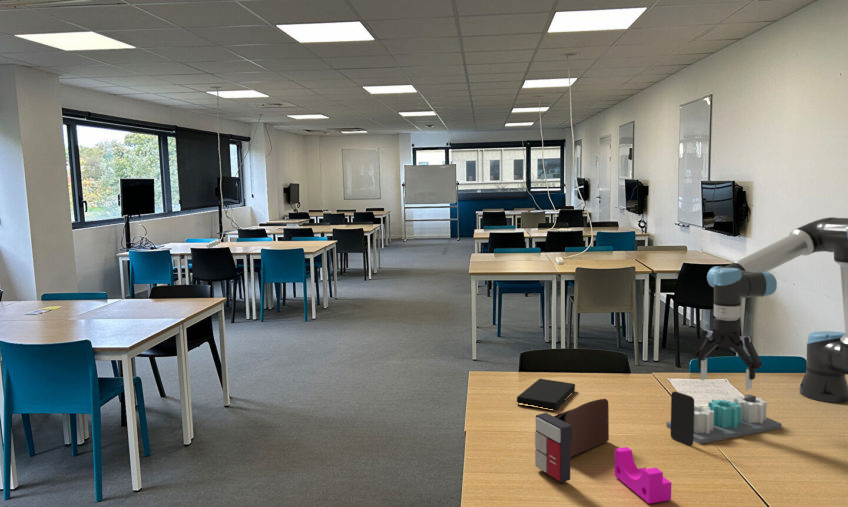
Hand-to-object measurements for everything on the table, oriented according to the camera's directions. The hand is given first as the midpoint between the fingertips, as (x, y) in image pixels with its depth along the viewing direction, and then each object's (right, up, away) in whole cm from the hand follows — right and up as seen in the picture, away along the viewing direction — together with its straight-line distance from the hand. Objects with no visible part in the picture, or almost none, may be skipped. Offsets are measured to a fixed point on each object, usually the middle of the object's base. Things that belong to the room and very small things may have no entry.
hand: (725, 384), depth 188 cm
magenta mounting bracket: (-39, -19, -34) cm, 55 cm away
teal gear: (0, -13, +1) cm, 13 cm away
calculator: (-60, -19, -26) cm, 68 cm away
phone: (-18, -16, -9) cm, 25 cm away
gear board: (0, -14, +1) cm, 14 cm away
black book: (-50, -13, +33) cm, 61 cm away
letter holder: (-49, -17, -8) cm, 53 cm away
